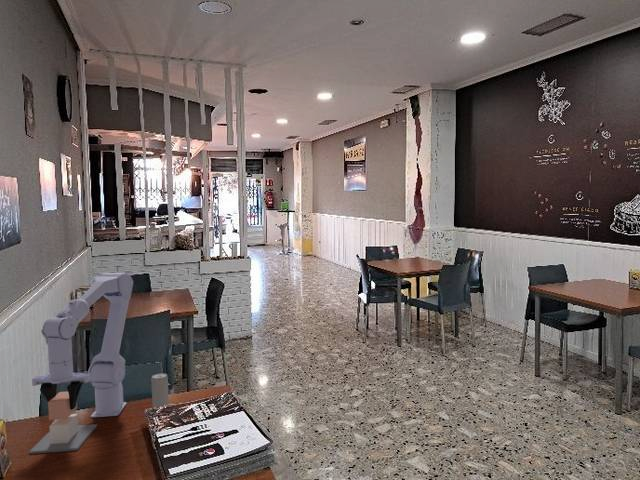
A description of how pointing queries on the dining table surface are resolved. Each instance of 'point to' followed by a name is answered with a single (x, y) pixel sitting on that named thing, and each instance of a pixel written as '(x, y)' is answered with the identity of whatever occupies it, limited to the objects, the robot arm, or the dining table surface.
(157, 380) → the beverage can
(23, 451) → the dining table surface
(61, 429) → the white brick
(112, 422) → the dining table surface
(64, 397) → the terracotta brick
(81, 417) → the dining table surface
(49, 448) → the base mat
